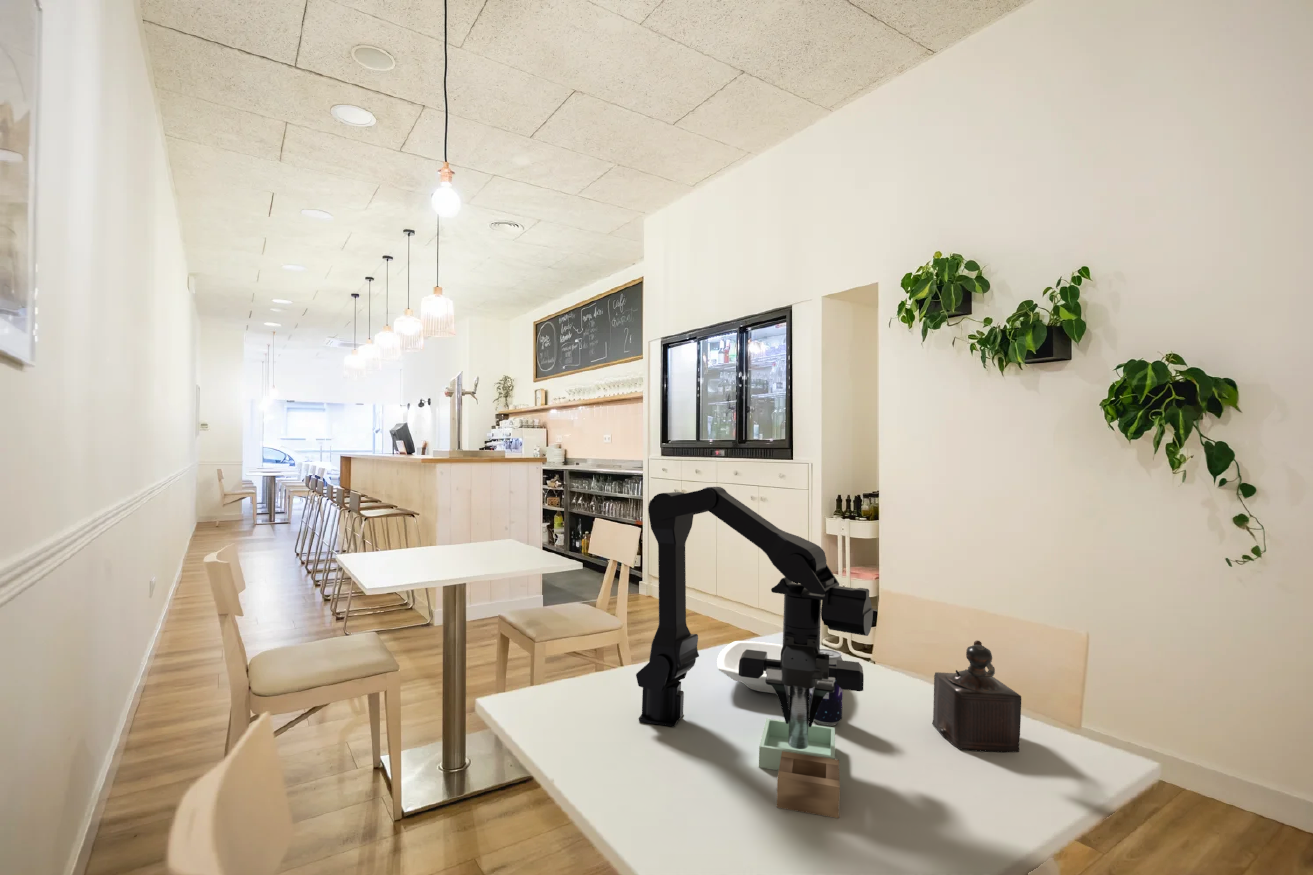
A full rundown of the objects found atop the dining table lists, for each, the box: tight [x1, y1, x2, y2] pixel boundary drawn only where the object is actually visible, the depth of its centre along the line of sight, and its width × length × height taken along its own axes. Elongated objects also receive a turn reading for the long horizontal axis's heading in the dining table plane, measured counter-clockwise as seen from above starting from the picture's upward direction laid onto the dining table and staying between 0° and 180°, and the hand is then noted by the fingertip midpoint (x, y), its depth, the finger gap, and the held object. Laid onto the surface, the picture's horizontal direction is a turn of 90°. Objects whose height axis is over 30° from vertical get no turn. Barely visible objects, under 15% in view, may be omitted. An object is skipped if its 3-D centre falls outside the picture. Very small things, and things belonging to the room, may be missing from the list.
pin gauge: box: [788, 686, 810, 749], centre depth 102 cm, size 3×3×10 cm
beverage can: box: [809, 648, 844, 727], centre depth 116 cm, size 6×6×12 cm
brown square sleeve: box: [776, 751, 841, 819], centre depth 90 cm, size 8×8×4 cm
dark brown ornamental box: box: [931, 640, 1022, 753], centre depth 109 cm, size 16×11×18 cm
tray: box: [758, 717, 836, 771], centre depth 102 cm, size 11×11×3 cm
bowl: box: [716, 640, 790, 696], centre depth 132 cm, size 22×23×6 cm
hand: (798, 724), depth 102 cm, fingers open, 3 cm apart
